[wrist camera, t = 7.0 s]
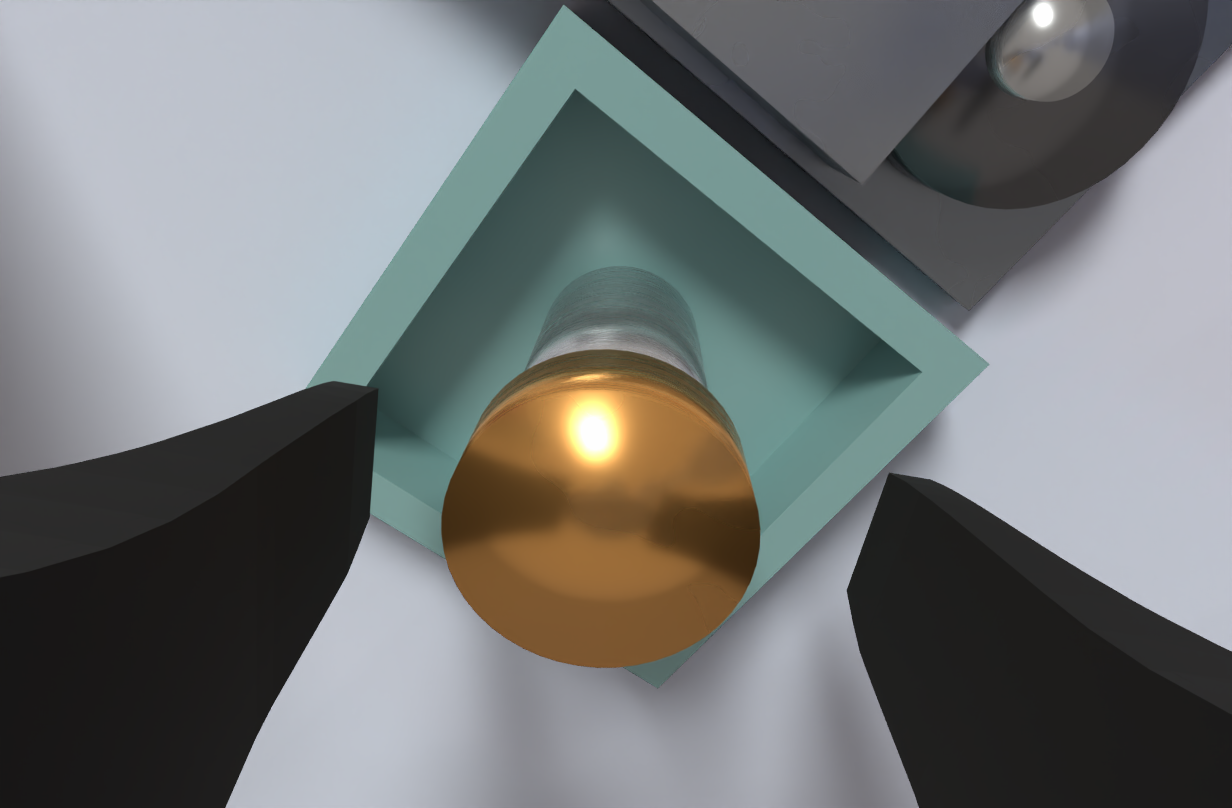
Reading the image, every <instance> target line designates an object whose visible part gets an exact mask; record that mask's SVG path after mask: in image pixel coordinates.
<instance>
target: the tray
mask: <svg viewBox="0 0 1232 808" xmlns="http://www.w3.org/2000/svg"><path fill="white" fill-rule="evenodd" d="M610 266H628V267H635V268H639V269H643V270H646V271H649V272H651V273H654V274H656V275H657V276H659V277H661V278H663V279H664V280H666V281H667V282H668V283H670V284H671V285H672V286H673V287H674V288H675V289H676V290H677V291H678V292H679V293H680V294H681V295H682V297H683V298H684V299H685V301H686V302H687V304H688V306H689V307H690V309H691V312H692V314H693V316H694V320H695V323H696V327H697V333H698V338H699V344H700V349H701V354H702V360H703V365H704V371H705V376H706V381H707V387H708V391H709V392H710V393H712V394H713V396H714V397H715V398H716V399H717V400H718V402H719V403H720V404H721V405H722V406H723V408H724V409H725V411H726V412H727V414H728V416H729V417H730V419H731V420H732V422H733V424H734V426H735V428H736V431H737V433H738V435H739V438H740V441H741V444H742V448H743V451H744V455H745V459H746V463H747V467H748V471H749V475H750V479H751V483H752V487H753V491H754V495H755V499H756V503H757V508H758V512H759V521H760V529H761V530H760V550H759V555H758V560H757V565H756V568H755V571H754V574H753V577H752V579H751V582H750V584H749V586H748V588H747V590H746V592H745V594H744V595H743V597H742V599H741V600H740V602H739V603H738V604H737V606H736V607H735V609H734V610H733V611H732V613H731V614H730V615H729V616H728V617H727V618H726V619H725V620H724V621H723V622H722V623H721V624H720V625H719V626H718V627H717V628H716V629H714V630H713V631H712V632H711V633H710V634H708V635H707V636H706V637H705V638H703V639H701V640H700V641H698V642H697V643H695V644H693V645H692V646H690V647H688V648H686V649H684V650H682V651H680V652H678V653H676V654H673V655H671V656H668V657H665V658H662V659H659V660H656V661H653V662H648V663H644V664H639V665H634V666H625V667H623V668H625V669H627V670H628V671H630V672H632V673H633V674H635V675H637V676H638V677H640V678H642V679H643V680H645V681H646V682H648V683H650V684H651V685H653V686H655V687H656V688H659V687H660V686H661V685H662V684H663V683H664V682H665V681H666V680H667V679H668V678H669V677H670V676H671V675H672V674H673V673H674V672H675V671H676V670H677V669H678V668H679V667H680V666H681V665H682V664H683V663H684V662H685V661H686V660H687V659H688V658H689V657H691V656H692V655H693V654H694V653H695V652H696V651H697V650H698V649H699V648H700V647H701V646H702V645H703V644H704V643H705V642H706V641H707V640H708V639H709V638H710V637H711V636H712V635H713V634H714V633H715V632H716V631H717V630H718V629H719V628H720V627H721V626H722V625H723V624H724V623H725V622H726V621H727V620H728V619H729V618H730V617H731V616H732V615H733V614H735V613H736V612H737V611H738V610H739V609H740V608H741V607H742V606H743V605H744V604H745V603H746V602H747V601H748V600H749V599H750V598H751V597H752V596H753V595H754V594H755V593H756V592H757V591H758V590H759V589H760V588H761V587H762V586H763V585H764V584H765V583H766V582H767V581H768V580H769V579H770V578H771V577H772V576H773V575H774V574H775V573H776V572H777V571H779V570H780V569H781V568H782V567H783V566H784V565H785V564H786V563H787V562H788V561H789V560H790V559H791V558H792V557H793V556H794V555H795V554H796V553H797V552H798V551H799V550H800V549H801V548H802V547H803V546H804V545H805V544H806V543H807V542H808V541H809V540H810V539H811V538H812V537H813V536H814V535H815V534H816V533H817V532H818V531H819V530H820V529H821V528H823V527H824V526H825V525H826V524H827V523H828V522H829V521H830V520H831V519H832V518H833V517H834V516H835V515H836V514H837V513H838V512H839V511H840V510H841V509H842V508H843V507H844V506H845V505H846V504H847V503H848V502H849V501H850V500H851V499H852V498H853V497H854V496H855V495H856V494H857V493H858V492H859V491H860V490H861V489H862V488H863V487H864V486H866V485H867V484H868V483H869V482H870V481H871V480H872V479H873V478H874V477H875V476H876V475H877V474H878V473H879V472H880V471H881V470H882V469H883V468H884V467H885V466H886V465H887V464H888V463H889V462H890V461H891V460H892V459H893V458H894V457H895V456H896V455H897V454H898V453H899V452H900V451H901V450H902V449H903V448H904V447H905V446H906V445H907V444H908V443H910V442H911V441H912V440H913V439H914V438H915V437H916V436H917V435H918V434H919V433H920V432H921V431H922V430H923V429H924V428H925V427H926V426H927V425H928V424H929V423H930V422H931V421H932V420H933V419H934V418H935V417H936V416H937V415H938V414H939V413H940V412H941V411H942V410H943V409H944V408H945V407H946V406H947V405H948V404H949V403H950V402H951V401H952V400H954V399H955V398H956V397H957V396H958V395H959V394H960V393H961V392H962V391H963V390H964V389H965V388H966V387H967V386H968V385H969V384H970V383H971V382H972V381H973V380H974V379H975V378H976V377H977V376H978V375H979V374H980V373H981V372H982V371H983V370H984V369H985V368H986V367H987V366H988V365H989V364H988V363H987V362H986V361H985V360H984V359H983V358H981V357H980V356H979V355H978V354H977V353H975V352H974V351H973V350H972V349H971V348H970V347H968V346H967V345H966V344H965V343H964V342H962V341H961V340H960V339H959V338H958V337H957V336H955V335H954V334H953V333H952V332H951V331H949V330H948V329H947V328H946V327H945V326H944V325H942V324H941V323H940V322H939V321H938V320H936V319H935V318H934V317H933V316H932V315H930V314H929V313H928V312H927V311H926V310H925V309H923V308H922V307H921V306H920V305H919V304H917V303H916V302H915V301H914V300H913V299H912V298H910V297H909V296H908V295H907V294H906V293H904V292H903V291H902V290H901V289H900V288H899V287H897V286H896V285H895V284H894V283H893V282H891V281H890V280H889V279H888V278H887V277H886V276H884V275H883V274H882V273H881V272H880V271H878V270H877V269H876V268H875V267H874V266H872V265H871V264H870V263H869V262H868V261H867V260H865V259H864V258H863V257H862V256H861V255H859V254H858V253H857V252H856V251H855V250H854V249H852V248H851V247H850V246H849V245H848V244H846V243H845V242H844V241H843V240H842V239H841V238H839V237H838V236H837V235H836V234H835V233H833V232H832V231H831V230H830V229H829V228H828V227H826V226H825V225H824V224H823V223H822V222H820V221H819V220H818V219H817V218H816V217H814V216H813V215H812V214H811V213H810V212H809V211H807V210H806V209H805V208H804V207H803V206H801V205H800V204H799V203H798V202H797V201H796V200H794V199H793V198H792V197H791V196H790V195H788V194H787V193H786V192H785V191H784V190H783V189H781V188H780V187H779V186H778V185H777V184H775V183H774V182H773V181H772V180H771V179H770V178H768V177H767V176H766V175H765V174H764V173H762V172H761V171H760V170H759V169H758V168H757V167H755V166H754V165H753V164H752V163H751V162H749V161H748V160H747V159H746V158H745V157H743V156H742V155H741V154H740V153H739V152H738V151H736V150H735V149H734V148H733V147H732V146H730V145H729V144H728V143H727V142H726V141H725V140H723V139H722V138H721V137H720V136H719V135H717V134H716V133H715V132H714V131H713V130H712V129H710V128H709V127H708V126H707V125H706V124H704V123H703V122H702V121H701V120H700V119H699V118H697V117H696V116H695V115H694V114H693V113H691V112H690V111H689V110H688V109H687V108H685V107H684V106H683V105H682V104H681V103H680V102H678V101H677V100H676V99H675V98H674V97H672V96H671V95H670V94H669V93H668V92H667V91H665V90H664V89H663V88H662V87H661V86H659V85H658V84H657V83H656V82H655V81H654V80H652V79H651V78H650V77H649V76H648V75H646V74H645V73H644V72H643V71H642V70H641V69H639V68H638V67H637V66H636V65H635V64H633V63H632V62H631V61H630V60H629V59H627V58H626V57H625V56H624V55H623V54H622V53H620V52H619V51H618V50H617V49H616V48H614V47H613V46H612V45H611V44H610V43H609V42H607V41H606V40H605V39H604V38H603V37H601V36H600V35H599V34H598V33H597V32H596V31H594V30H593V29H592V28H591V27H590V26H588V25H587V24H586V23H585V22H584V21H583V20H581V19H580V18H579V17H578V16H577V15H575V14H574V13H573V12H572V11H571V10H569V9H568V8H567V7H566V6H565V5H563V6H562V8H561V9H560V11H559V12H558V14H557V15H556V17H555V18H554V20H553V21H552V22H551V24H550V25H549V27H548V28H547V30H546V31H545V33H544V34H543V36H542V37H541V39H540V40H539V42H538V43H537V45H536V46H535V48H534V49H533V51H532V52H531V54H530V55H529V57H528V58H527V60H526V61H525V63H524V64H523V66H522V67H521V69H520V70H519V72H518V73H517V75H516V76H515V78H514V79H513V81H512V82H511V84H510V85H509V87H508V88H507V90H506V91H505V92H504V94H503V95H502V97H501V98H500V100H499V101H498V103H497V104H496V106H495V107H494V109H493V110H492V112H491V113H490V115H489V116H488V118H487V119H486V121H485V122H484V124H483V125H482V127H481V128H480V130H479V131H478V133H477V134H476V136H475V137H474V139H473V140H472V142H471V143H470V145H469V146H468V148H467V149H466V151H465V152H464V154H463V155H462V157H461V158H460V159H459V161H458V162H457V164H456V165H455V167H454V168H453V170H452V171H451V173H450V174H449V176H448V177H447V179H446V180H445V182H444V183H443V185H442V186H441V188H440V189H439V191H438V192H437V194H436V195H435V197H434V198H433V200H432V201H431V203H430V204H429V206H428V207H427V209H426V210H425V212H424V213H423V215H422V216H421V218H420V219H419V221H418V222H417V224H416V225H415V227H414V228H413V229H412V231H411V232H410V234H409V235H408V237H407V238H406V240H405V241H404V243H403V244H402V246H401V247H400V249H399V250H398V252H397V253H396V255H395V256H394V258H393V259H392V261H391V262H390V264H389V265H388V267H387V268H386V270H385V271H384V273H383V274H382V276H381V277H380V279H379V280H378V282H377V283H376V285H375V286H374V288H373V289H372V291H371V292H370V294H369V295H368V296H367V298H366V299H365V301H364V302H363V304H362V305H361V307H360V308H359V310H358V311H357V313H356V314H355V316H354V317H353V319H352V320H351V322H350V323H349V325H348V326H347V328H346V329H345V331H344V332H343V334H342V335H341V337H340V338H339V340H338V341H337V343H336V344H335V346H334V347H333V349H332V350H331V352H330V353H329V355H328V356H327V358H326V359H325V361H324V362H323V364H322V365H321V366H320V368H319V369H318V371H317V372H316V374H315V375H314V377H313V378H312V380H311V381H310V383H309V384H308V386H307V387H306V389H307V388H310V387H313V386H316V385H319V384H322V383H326V382H330V381H338V382H344V383H350V384H356V385H362V386H368V387H374V388H379V390H378V405H377V419H376V434H375V448H374V463H373V477H372V492H371V506H370V514H372V515H373V516H375V517H377V518H378V519H380V520H382V521H383V522H385V523H387V524H388V525H390V526H392V527H393V528H395V529H396V530H398V531H400V532H401V533H403V534H405V535H406V536H408V537H410V538H411V539H413V540H415V541H416V542H418V543H419V544H421V545H423V546H424V547H426V548H428V549H429V550H431V551H433V552H434V553H436V554H438V555H439V556H441V557H442V558H444V559H446V557H445V554H444V550H443V543H442V535H441V515H442V509H443V503H444V497H445V494H446V491H447V488H448V485H449V482H450V479H451V477H452V475H453V473H454V471H455V469H456V467H457V465H458V463H459V461H460V459H461V456H462V454H463V452H464V450H465V448H466V446H467V444H468V442H469V440H470V438H471V436H472V433H473V431H474V429H475V427H476V425H477V423H478V421H479V419H480V417H481V415H482V413H483V412H484V410H485V409H486V408H487V406H488V405H489V403H490V402H491V400H492V399H493V398H494V397H495V396H496V395H497V394H498V393H499V392H500V391H501V389H502V388H503V387H504V386H505V385H507V384H508V383H509V382H510V381H512V380H513V379H514V378H515V377H517V376H518V375H519V374H521V373H523V372H524V370H525V368H526V365H527V363H528V360H529V358H530V356H531V353H532V351H533V348H534V346H535V343H536V341H537V338H538V336H539V333H540V331H541V329H542V326H543V324H544V321H545V319H546V316H547V314H548V311H549V309H550V307H551V305H552V303H553V302H554V300H555V299H556V298H557V296H558V295H559V293H560V292H561V291H562V290H563V289H564V288H565V287H566V286H567V285H569V284H570V283H571V282H572V281H573V280H575V279H577V278H578V277H580V276H582V275H584V274H586V273H588V272H590V271H593V270H596V269H600V268H604V267H610Z"/></svg>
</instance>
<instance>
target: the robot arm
mask: <svg viewBox="0 0 1232 808" xmlns="http://www.w3.org/2000/svg"><path fill="white" fill-rule="evenodd" d="M378 390H379V388H374V387H368V386H362V385H356V384H350V383H344V382H338V381H330V382H326V383H322V384H319V385H316V386H313V387H310V388H307V389H304V390H302V391H299V392H296V393H294V394H291V395H288V396H286V397H283V398H281V399H278V400H276V401H273V402H270V403H268V404H265V405H263V406H260V407H257V408H255V409H252V410H250V411H247V412H244V413H242V414H239V415H236V416H234V417H231V418H229V419H226V420H223V421H220V422H217V423H214V424H211V425H208V426H205V427H202V428H199V429H196V430H193V431H190V432H187V433H184V434H181V435H178V436H175V437H172V438H169V439H166V440H163V441H160V442H157V443H153V444H150V445H146V446H143V447H139V448H136V449H132V450H128V451H125V452H121V453H117V454H113V455H109V456H104V457H100V458H96V459H92V460H88V461H83V462H79V463H75V464H70V465H66V466H61V467H56V468H50V469H44V470H38V471H33V472H27V473H21V474H15V475H9V476H3V477H0V808H225V807H226V805H227V802H228V800H229V798H230V796H231V793H232V791H233V789H234V786H235V784H236V782H237V780H238V777H239V775H240V773H241V771H242V768H243V766H244V764H245V761H246V759H247V757H248V755H249V752H250V750H251V748H252V745H253V743H254V741H255V739H256V736H257V735H258V733H259V731H260V729H261V727H262V725H263V723H264V721H265V719H266V717H267V715H268V713H269V711H270V709H271V707H272V705H273V704H274V702H275V700H276V698H277V697H278V695H279V693H280V691H281V690H282V688H283V686H284V685H285V683H286V681H287V679H288V678H289V676H290V674H291V672H292V671H293V669H294V667H295V665H296V664H297V662H298V660H299V658H300V657H301V655H302V653H303V652H304V650H305V648H306V646H307V645H308V643H309V641H310V639H311V638H312V636H313V634H314V632H315V631H316V629H317V627H318V625H319V624H320V622H321V620H322V619H323V617H324V615H325V613H326V611H327V610H328V608H329V606H330V604H331V603H332V601H333V599H334V597H335V595H336V594H337V592H338V590H339V588H340V587H341V585H342V583H343V581H344V579H345V577H346V576H347V574H348V571H349V569H350V566H351V564H352V561H353V559H354V556H355V554H356V551H357V549H358V546H359V544H360V541H361V539H362V536H363V533H364V531H365V528H366V525H367V523H368V520H369V517H370V506H371V492H372V477H373V463H374V448H375V434H376V419H377V405H378ZM847 594H848V600H849V605H850V610H851V615H852V620H853V625H854V629H855V633H856V638H857V642H858V646H859V650H860V653H861V656H862V659H863V662H864V664H865V667H866V670H867V672H868V675H869V678H870V680H871V683H872V686H873V688H874V691H875V694H876V696H877V699H878V702H879V704H880V707H881V709H882V712H883V714H884V717H885V720H886V722H887V725H888V727H889V730H890V732H891V735H892V737H893V740H894V743H895V745H896V748H897V750H898V753H899V755H900V758H901V761H902V763H903V766H904V768H905V771H906V773H907V776H908V779H909V781H910V784H911V786H912V789H913V791H914V794H915V797H916V800H917V803H918V806H919V808H1232V652H1231V651H1229V650H1227V649H1225V648H1223V647H1221V646H1219V645H1217V644H1215V643H1213V642H1211V641H1209V640H1207V639H1205V638H1203V637H1201V636H1199V635H1197V634H1195V633H1193V632H1191V631H1189V630H1187V629H1185V628H1183V627H1181V626H1179V625H1177V624H1175V623H1173V622H1171V621H1170V620H1168V619H1166V618H1164V617H1162V616H1160V615H1158V614H1156V613H1154V612H1152V611H1151V610H1149V609H1147V608H1145V607H1143V606H1141V605H1140V604H1138V603H1136V602H1134V601H1132V600H1131V599H1129V598H1127V597H1126V596H1124V595H1122V594H1120V593H1119V592H1117V591H1115V590H1114V589H1112V588H1110V587H1108V586H1107V585H1105V584H1103V583H1102V582H1100V581H1098V580H1097V579H1095V578H1093V577H1091V576H1090V575H1088V574H1086V573H1085V572H1083V571H1081V570H1080V569H1078V568H1077V567H1075V566H1073V565H1072V564H1070V563H1068V562H1067V561H1065V560H1064V559H1062V558H1060V557H1059V556H1057V555H1056V554H1054V553H1053V552H1051V551H1049V550H1048V549H1046V548H1045V547H1043V546H1041V545H1040V544H1038V543H1037V542H1035V541H1034V540H1032V539H1031V538H1029V537H1027V536H1026V535H1024V534H1023V533H1021V532H1020V531H1018V530H1017V529H1015V528H1013V527H1012V526H1010V525H1009V524H1007V523H1006V522H1004V521H1003V520H1001V519H999V518H998V517H996V516H995V515H993V514H992V513H990V512H988V511H987V510H985V509H984V508H982V507H981V506H979V505H977V504H976V503H974V502H972V501H971V500H969V499H967V498H966V497H964V496H962V495H961V494H959V493H957V492H955V491H953V490H952V489H950V488H948V487H946V486H944V485H942V484H939V483H937V482H935V481H933V480H930V479H924V478H918V477H911V476H905V475H899V474H893V473H889V474H888V477H887V480H886V483H885V486H884V488H883V491H882V494H881V497H880V499H879V502H878V505H877V508H876V510H875V513H874V516H873V519H872V522H871V524H870V527H869V530H868V533H867V535H866V538H865V541H864V544H863V546H862V549H861V552H860V555H859V558H858V560H857V563H856V566H855V569H854V571H853V574H852V577H851V580H850V583H849V585H848V588H847Z"/></svg>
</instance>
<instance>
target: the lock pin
mask: <svg viewBox="0 0 1232 808" xmlns="http://www.w3.org/2000/svg"><path fill="white" fill-rule="evenodd" d="M760 530H761V529H760V521H759V512H758V508H757V503H756V499H755V495H754V491H753V487H752V483H751V479H750V475H749V471H748V467H747V463H746V459H745V455H744V451H743V448H742V444H741V441H740V438H739V435H738V433H737V431H736V428H735V426H734V424H733V422H732V420H731V419H730V417H729V416H728V414H727V412H726V411H725V409H724V408H723V406H722V405H721V404H720V403H719V402H718V400H717V399H716V398H715V397H714V396H713V394H712V393H710V392H709V391H708V387H707V381H706V376H705V371H704V365H703V360H702V354H701V349H700V344H699V338H698V333H697V327H696V323H695V320H694V316H693V314H692V312H691V309H690V307H689V306H688V304H687V302H686V301H685V299H684V298H683V297H682V295H681V294H680V293H679V292H678V291H677V290H676V289H675V288H674V287H673V286H672V285H671V284H670V283H668V282H667V281H666V280H664V279H663V278H661V277H659V276H657V275H656V274H654V273H651V272H649V271H646V270H643V269H639V268H635V267H628V266H610V267H604V268H600V269H596V270H593V271H590V272H588V273H586V274H584V275H582V276H580V277H578V278H577V279H575V280H573V281H572V282H571V283H570V284H569V285H567V286H566V287H565V288H564V289H563V290H562V291H561V292H560V293H559V295H558V296H557V298H556V299H555V300H554V302H553V303H552V305H551V307H550V309H549V311H548V314H547V316H546V319H545V321H544V324H543V326H542V329H541V331H540V333H539V336H538V338H537V341H536V343H535V346H534V348H533V351H532V353H531V356H530V358H529V360H528V363H527V365H526V368H525V370H524V372H523V373H521V374H519V375H518V376H517V377H515V378H514V379H513V380H512V381H510V382H509V383H508V384H507V385H505V386H504V387H503V388H502V389H501V391H500V392H499V393H498V394H497V395H496V396H495V397H494V398H493V399H492V400H491V402H490V403H489V405H488V406H487V408H486V409H485V410H484V412H483V413H482V415H481V417H480V419H479V421H478V423H477V425H476V427H475V429H474V431H473V433H472V436H471V438H470V440H469V442H468V444H467V446H466V448H465V450H464V452H463V454H462V456H461V459H460V461H459V463H458V465H457V467H456V469H455V471H454V473H453V475H452V477H451V479H450V482H449V485H448V488H447V491H446V494H445V497H444V503H443V509H442V515H441V535H442V543H443V550H444V554H445V557H446V561H447V564H448V568H449V570H450V572H451V575H452V577H453V579H454V581H455V583H456V585H457V587H458V589H459V590H460V592H461V593H462V595H463V597H464V598H465V600H466V601H467V602H468V604H469V605H470V606H471V607H472V608H473V610H474V611H475V612H476V613H477V614H478V615H479V616H480V617H481V618H482V619H483V620H484V621H485V622H486V623H487V624H488V625H489V626H490V627H491V628H493V629H494V630H495V631H497V632H498V633H499V634H501V635H502V636H503V637H505V638H506V639H508V640H510V641H511V642H513V643H515V644H516V645H518V646H520V647H522V648H523V649H526V650H528V651H530V652H533V653H535V654H537V655H539V656H542V657H545V658H548V659H552V660H555V661H558V662H562V663H567V664H572V665H577V666H586V667H596V668H616V667H625V666H634V665H639V664H644V663H648V662H653V661H656V660H659V659H662V658H665V657H668V656H671V655H673V654H676V653H678V652H680V651H682V650H684V649H686V648H688V647H690V646H692V645H693V644H695V643H697V642H698V641H700V640H701V639H703V638H705V637H706V636H707V635H708V634H710V633H711V632H712V631H713V630H714V629H716V628H717V627H718V626H719V625H720V624H721V623H722V622H723V621H724V620H725V619H726V618H727V617H728V616H729V615H730V614H731V613H732V611H733V610H734V609H735V607H736V606H737V604H738V603H739V602H740V600H741V599H742V597H743V595H744V594H745V592H746V590H747V588H748V586H749V584H750V582H751V579H752V577H753V574H754V571H755V568H756V565H757V560H758V555H759V550H760Z"/></svg>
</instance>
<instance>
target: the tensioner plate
mask: <svg viewBox="0 0 1232 808" xmlns="http://www.w3.org/2000/svg"><path fill="white" fill-rule="evenodd" d="M607 1H608V2H609V3H610V4H611V5H613V6H614V7H615V8H616V9H617V10H618V11H620V12H621V13H622V14H623V15H624V16H625V17H626V18H628V19H629V20H630V21H631V22H632V23H633V24H635V25H636V26H637V27H638V28H639V29H640V30H642V31H643V32H644V33H645V34H646V35H647V36H649V37H650V38H651V39H652V40H653V41H654V42H656V43H657V44H658V45H659V46H660V47H661V48H663V49H664V50H665V51H666V52H667V53H668V54H669V55H671V56H672V57H673V58H674V59H675V60H676V61H678V62H679V63H680V64H681V65H682V66H683V67H685V68H686V69H687V70H688V71H689V72H690V73H692V74H693V75H694V76H695V77H696V78H697V79H699V80H700V81H701V82H702V83H703V84H704V85H706V86H707V87H708V88H709V89H710V90H711V91H712V92H714V93H715V94H716V95H717V96H718V97H719V98H721V99H722V100H723V101H724V102H725V103H726V104H728V105H729V106H730V107H731V108H732V109H733V110H735V111H736V112H737V113H738V114H739V115H740V116H742V117H743V118H744V119H745V120H746V121H747V122H749V123H750V124H751V125H752V126H753V127H754V128H755V129H757V130H758V131H759V132H760V133H761V134H762V135H764V136H765V137H766V138H767V139H768V140H769V141H771V142H772V143H773V144H774V145H775V146H776V147H778V148H779V149H780V150H781V151H782V152H783V153H785V154H786V155H787V156H788V157H789V158H790V159H792V160H793V161H794V162H795V163H796V164H797V165H799V166H800V167H801V168H802V169H803V170H804V171H805V172H807V173H808V174H809V175H810V176H811V177H812V178H814V179H815V180H816V181H817V182H818V183H819V184H821V185H822V186H823V187H824V188H825V189H826V190H828V191H829V192H830V193H831V194H832V195H833V196H835V197H836V198H837V199H838V200H839V201H840V202H842V203H843V204H844V205H845V206H846V207H847V208H848V209H850V210H851V211H852V212H853V213H854V214H855V215H857V216H858V217H859V218H860V219H861V220H862V221H864V222H865V223H866V224H867V225H868V226H869V227H871V228H872V229H873V230H874V231H875V232H876V233H878V234H879V235H880V236H881V237H882V238H883V239H885V240H886V241H887V242H888V243H889V244H890V245H891V246H893V247H894V248H895V249H896V250H897V251H898V252H900V253H901V254H902V255H903V256H904V257H905V258H907V259H908V260H909V261H910V262H911V263H912V264H914V265H915V266H916V267H917V268H918V269H919V270H921V271H922V272H923V273H924V274H925V275H926V276H928V277H929V278H930V279H931V280H932V281H933V282H934V283H936V284H937V285H938V286H939V287H940V288H941V289H943V290H944V291H945V292H946V293H947V294H948V295H950V296H951V297H952V298H953V299H954V300H955V301H957V302H958V303H959V304H961V305H962V306H963V307H965V308H966V309H967V310H970V309H971V308H972V307H973V306H974V305H975V304H976V303H977V302H978V301H979V300H980V299H981V298H982V297H983V296H984V295H985V294H986V293H987V292H988V291H989V290H990V289H991V288H992V287H993V286H994V285H995V284H996V283H997V282H998V281H999V280H1000V279H1001V278H1002V277H1003V276H1004V275H1005V274H1006V273H1007V272H1008V271H1009V270H1010V269H1011V268H1012V267H1013V266H1014V265H1015V264H1016V263H1017V262H1018V261H1019V260H1020V259H1021V258H1022V257H1023V256H1024V255H1025V254H1026V252H1027V251H1028V250H1029V249H1030V248H1031V247H1032V246H1033V245H1034V244H1035V243H1036V242H1037V241H1038V240H1039V239H1040V238H1041V237H1042V236H1043V235H1044V234H1045V233H1046V232H1047V231H1048V230H1049V229H1050V228H1051V227H1052V226H1053V225H1054V224H1055V223H1056V222H1057V221H1058V220H1059V219H1060V218H1061V217H1062V216H1063V215H1064V214H1065V213H1066V212H1067V211H1068V210H1069V209H1070V208H1071V207H1072V206H1073V205H1074V204H1075V203H1076V202H1077V201H1078V200H1079V199H1080V198H1081V197H1082V196H1083V195H1084V194H1085V193H1086V192H1087V191H1088V190H1089V189H1090V187H1091V186H1093V185H1094V184H1096V183H1098V182H1099V181H1101V180H1103V179H1104V178H1106V177H1107V176H1109V175H1110V174H1112V173H1113V172H1114V171H1116V170H1117V169H1118V168H1120V167H1121V166H1122V165H1124V164H1125V163H1126V162H1127V161H1128V160H1129V159H1130V158H1132V157H1133V156H1134V155H1135V154H1136V153H1137V152H1138V151H1139V150H1140V149H1141V148H1142V147H1143V146H1144V145H1145V144H1146V143H1147V142H1148V141H1149V139H1150V138H1151V137H1152V136H1153V135H1154V134H1155V133H1156V132H1157V131H1158V129H1159V128H1160V126H1161V125H1162V124H1163V122H1164V121H1165V120H1166V118H1167V117H1168V115H1169V114H1170V113H1171V111H1172V110H1173V108H1174V106H1175V105H1176V103H1177V101H1178V99H1179V98H1180V96H1181V95H1182V94H1183V93H1184V92H1185V91H1186V90H1187V89H1188V88H1189V87H1190V86H1191V85H1192V84H1193V83H1194V82H1195V81H1196V80H1197V79H1198V78H1199V77H1200V76H1201V75H1202V74H1203V73H1204V72H1205V71H1206V70H1207V69H1208V68H1209V67H1210V66H1211V65H1212V64H1213V63H1214V62H1215V61H1216V60H1217V59H1218V58H1219V57H1220V55H1221V54H1222V53H1223V52H1224V51H1225V50H1226V49H1227V48H1228V47H1229V46H1230V45H1231V44H1232V0H607Z"/></svg>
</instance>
